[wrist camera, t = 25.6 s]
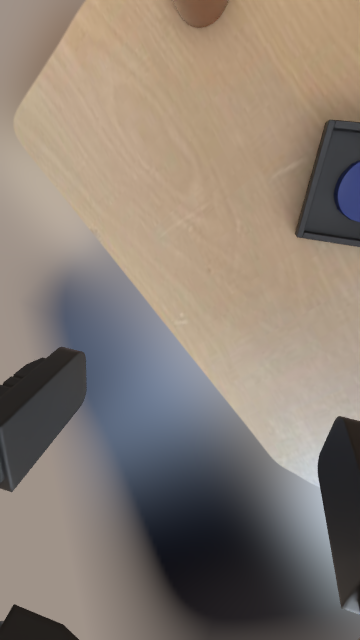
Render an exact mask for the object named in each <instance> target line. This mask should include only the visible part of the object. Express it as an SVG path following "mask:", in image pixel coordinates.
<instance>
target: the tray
mask: <svg viewBox="0 0 360 640" xmlns="http://www.w3.org/2000/svg"><path fill="white" fill-rule="evenodd" d="M359 160H360V122H350V121H339V120H329V121H327V122H326V123H325V127H324V131H323V134H322V138H321V141H320V145H319V149H318V152H317V156H316V160H315V163H314V167H313V170H312V174H311V178H310V181H309V185H308V189H307V192H306V196H305V199H304V203H303V207H302V210H301V214H300V218H299V221H298V225H297V229H296V232H295V235H296V236H297V237H300V238H306V239H312V240H319V241H325V242H331V243H338V244H344V245H350V246H357V247H360V222H357V221H354V220H349V219H348V217H346V216H344V215H343V214H342V213H341V212H340V211H339V210H337V206H336V204H335V200H334V195H333V194H334V191H335V186H336V184H337V181H338V179H339V177H340V176H341V174H342V173H343V172H344V171H345V170H346V169H347V168H348V167H349V166H350V165H351V164H352V163H355V162H357V161H359Z"/></svg>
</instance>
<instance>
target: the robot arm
mask: <svg viewBox="0 0 360 640" xmlns="http://www.w3.org/2000/svg"><path fill="white" fill-rule="evenodd" d="M85 395H86V358H85V354H84V353H83V352H81V351H77V350H73V349H69V348H65V347H60V348H58V349H57V350H56V351H54V352H53V353H52V354H51V355H50V356H48V357H47V358H40V359H38V360H36V361H33V362H31V363H29V364H27V365H25V366H24V367H23V368H21V369H20V370H19V371H18V372H16V373H15V374H14V376H13V377H10V378H9V379H7V380H6V381H5V382H4V383H3V385H0V488H1V489H4V490H7V491H10V492H13V490H14V489H15V488H16V487H17V485H18V484H19V483H20V482H21V480H22V479H23V478H24V477H25V475H26V474H27V473H28V472H29V470H30V469H31V468H32V467H33V465H34V464H35V463H36V461H37V460H38V459H39V458H40V457H41V455H42V454H43V453H44V452H45V450H46V449H47V448H48V447H49V445H50V444H51V443H52V442H53V440H54V439H55V438H56V437H57V435H58V434H59V433H60V432H61V430H62V429H63V428H64V426H65V425H66V424H67V423H68V422H69V420H70V419H71V418H72V417H73V415H74V414H75V413H76V412H77V410H78V409H79V408H80V406H81V405H82V403H83V401H84V398H85ZM318 477H319V483H320V489H321V494H322V500H323V505H324V511H325V517H326V523H327V529H328V534H329V540H330V545H331V552H332V557H333V563H334V568H335V574H336V580H337V586H338V591H339V597H340V603H341V608H342V609H345V610H348V611H351V612H354V613H357V614H360V421H357V420H353V419H349V418H345V417H341V416H339V417H337V418H336V420H335V421H334V423H333V426H332V428H331V430H330V432H329V435H328V437H327V439H326V441H325V443H324V446H323V448H322V450H321V452H320V455H319V460H318ZM0 640H79V639H78V638H77V637H75V635H73V634H72V633H71V632H70V631H69V630H68V629H67V628H66V627H65V626H64V625H63V624H60V623H58V622H55V621H53V620H51V619H48V618H46V617H43V616H41V615H38V614H36V613H34V612H31V611H29V610H26V609H24V608H22V607H19V606H17V605H13V607H12V608H11V610H10V612H9V614H8V615H7V617H6V619H5V620H4V621H0ZM358 640H360V637H359V639H358Z"/></svg>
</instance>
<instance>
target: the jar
mask: <svg viewBox="0 0 360 640" xmlns="http://www.w3.org/2000/svg"><path fill="white" fill-rule="evenodd" d="M172 1H173V3H174V5H175V7H176V9H177V11H178V12H179V14H180V16H181V18H182V19H183V20H184V21H185V22H186V23H187V24H189V25H190V26H193V27H197V28H201V27H206V26H208V25H210V24H212V23H213V22H215V21H216V20H217V19H218V18H219V17H220V15H221V14H222V13H223V11H224V9H225V7H226V5H227V3H228V0H172Z"/></svg>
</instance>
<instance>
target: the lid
mask: <svg viewBox="0 0 360 640" xmlns="http://www.w3.org/2000/svg"><path fill="white" fill-rule="evenodd" d="M333 195H334V200H335V204H336V206H337V210H339V211H340V212H341V213H342V214H343V215H344V216H346V217H348V219H349V220H354V221H357V222H360V160H359V161H357V162H355V163H352V164H351V165H350V166H349V167H348V168H347V169H346V170H345V171H344V172H343V173H342V174H341V176H340V177H339V179H338V181H337V184H336V186H335V191H334V194H333Z"/></svg>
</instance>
